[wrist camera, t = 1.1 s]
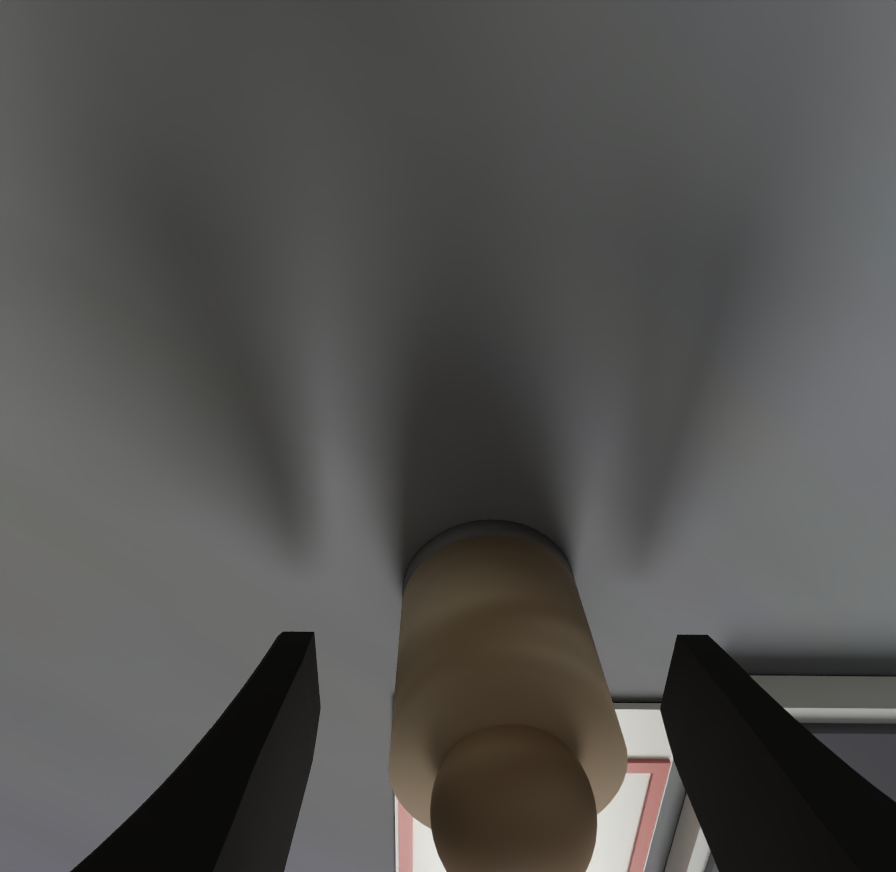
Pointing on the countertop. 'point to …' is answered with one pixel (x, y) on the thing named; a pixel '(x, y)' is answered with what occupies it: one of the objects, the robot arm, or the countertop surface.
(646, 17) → the countertop surface
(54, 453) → the countertop surface
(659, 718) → the sheet
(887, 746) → the ink pad
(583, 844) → the stamp
